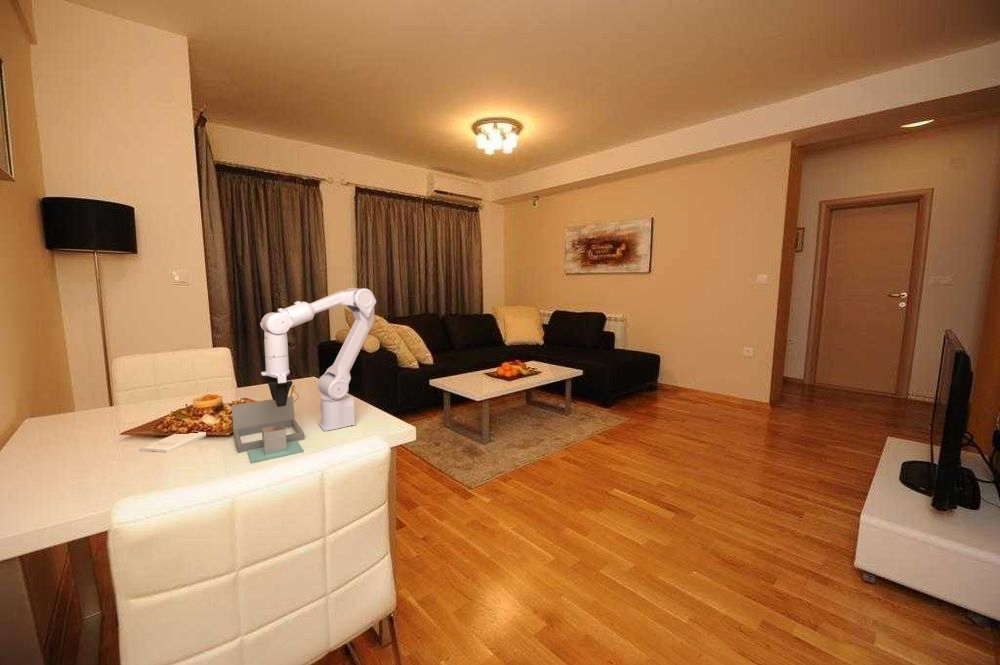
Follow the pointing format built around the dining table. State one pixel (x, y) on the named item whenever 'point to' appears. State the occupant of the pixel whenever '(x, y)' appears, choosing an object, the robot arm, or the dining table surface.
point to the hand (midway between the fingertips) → (279, 402)
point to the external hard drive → (172, 442)
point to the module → (274, 439)
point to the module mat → (259, 455)
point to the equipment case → (263, 421)
